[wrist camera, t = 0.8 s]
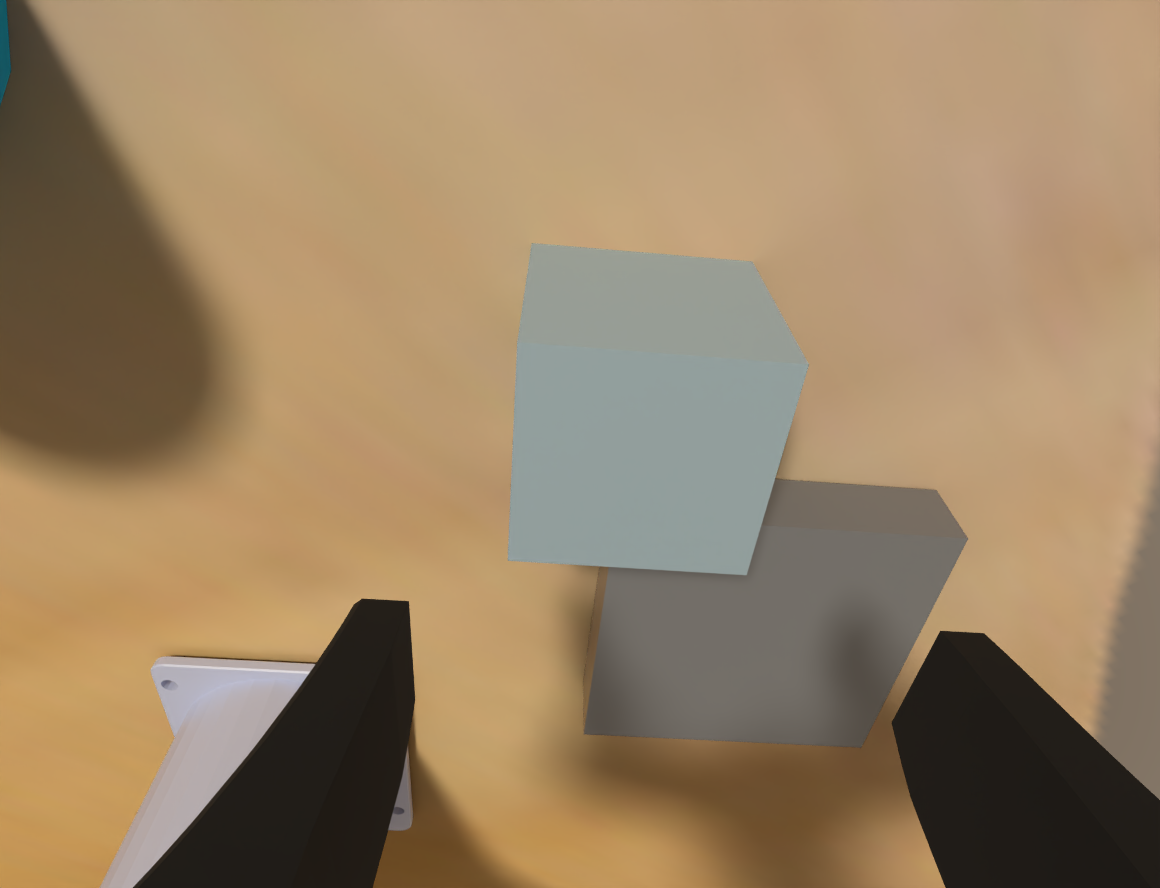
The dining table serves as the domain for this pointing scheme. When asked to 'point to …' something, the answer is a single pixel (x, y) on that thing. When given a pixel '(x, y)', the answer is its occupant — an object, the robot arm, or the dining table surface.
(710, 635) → the slate base
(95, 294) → the dining table surface
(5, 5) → the mug
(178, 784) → the robot arm
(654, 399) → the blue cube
